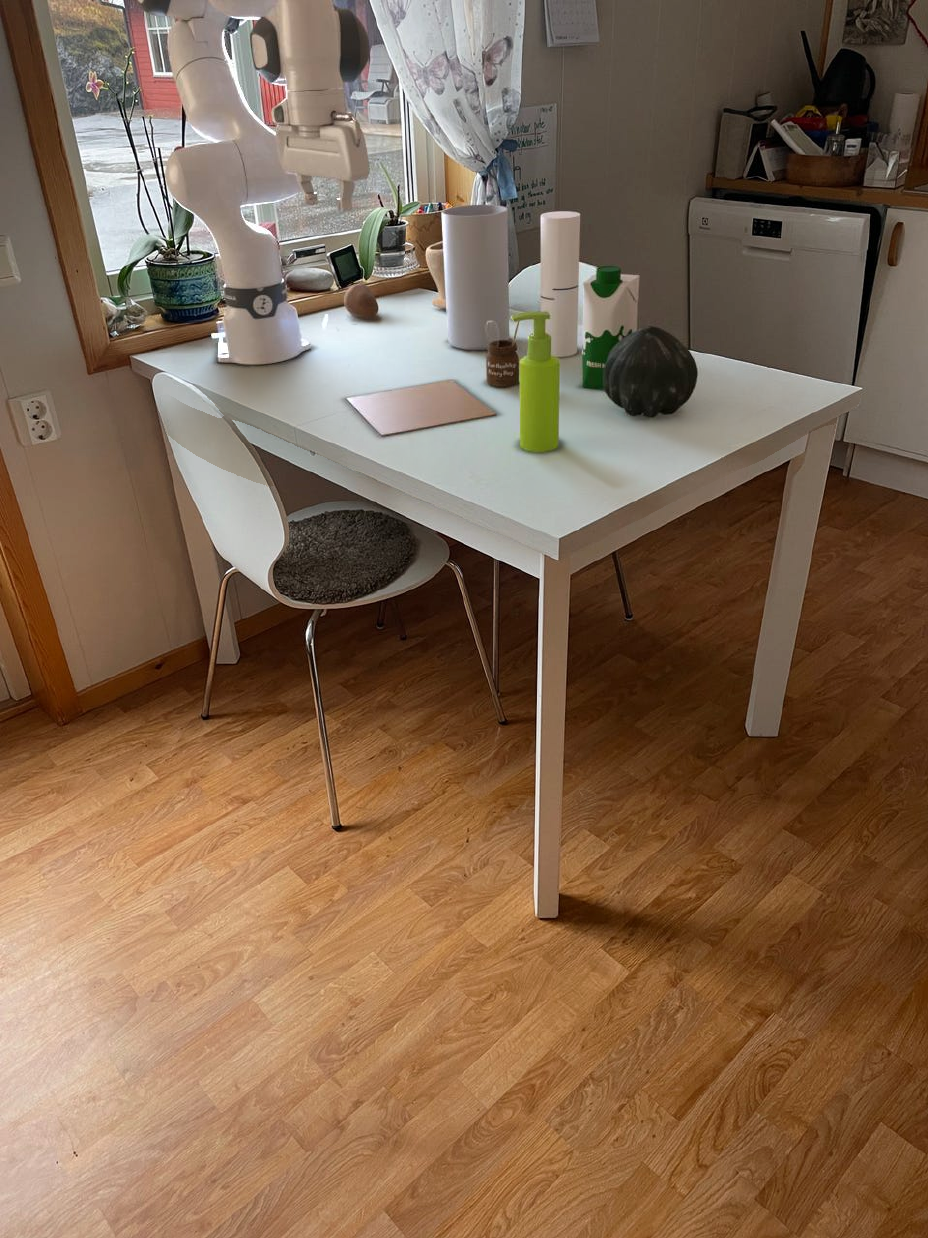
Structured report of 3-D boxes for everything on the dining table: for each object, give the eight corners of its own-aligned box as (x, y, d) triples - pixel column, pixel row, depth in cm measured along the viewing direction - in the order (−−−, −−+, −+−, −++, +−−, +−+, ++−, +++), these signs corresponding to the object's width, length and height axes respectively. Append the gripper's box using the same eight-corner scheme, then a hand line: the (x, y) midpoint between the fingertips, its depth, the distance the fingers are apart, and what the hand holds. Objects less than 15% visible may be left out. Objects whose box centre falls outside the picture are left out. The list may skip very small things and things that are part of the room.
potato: (360, 323, 210) (357, 291, 207) (336, 315, 218) (332, 283, 214) (387, 317, 214) (384, 285, 210) (362, 309, 221) (359, 277, 217)
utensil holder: (488, 377, 176) (486, 310, 169) (522, 377, 175) (521, 310, 169) (484, 387, 171) (482, 319, 165) (519, 387, 170) (519, 319, 164)
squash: (670, 354, 165) (627, 297, 155) (728, 381, 154) (685, 321, 144) (615, 419, 166) (569, 366, 156) (669, 450, 155) (622, 395, 145)
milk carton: (576, 388, 169) (578, 270, 158) (592, 372, 175) (595, 258, 165) (624, 393, 165) (630, 273, 155) (639, 377, 172) (645, 261, 161)
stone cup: (418, 309, 219) (414, 240, 211) (459, 299, 225) (456, 231, 217) (459, 321, 208) (456, 249, 200) (501, 311, 214) (499, 240, 207)
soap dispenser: (511, 439, 150) (509, 309, 139) (555, 436, 150) (556, 306, 139) (516, 453, 145) (514, 319, 134) (561, 450, 145) (563, 316, 134)
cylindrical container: (575, 357, 184) (578, 217, 170) (538, 356, 185) (538, 218, 172) (578, 346, 190) (582, 210, 176) (542, 345, 191) (543, 211, 178)
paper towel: (346, 399, 169) (346, 398, 169) (451, 380, 175) (451, 379, 175) (381, 436, 153) (381, 435, 153) (496, 414, 159) (496, 413, 159)
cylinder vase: (520, 337, 196) (519, 206, 183) (489, 354, 188) (485, 217, 174) (469, 330, 202) (464, 203, 189) (436, 346, 194) (428, 213, 180)
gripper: (374, 110, 142) (382, 210, 149) (298, 106, 155) (309, 198, 162) (339, 114, 138) (350, 216, 146) (264, 110, 152) (277, 204, 159)
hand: (328, 207), depth 154 cm, fingers open, 8 cm apart
